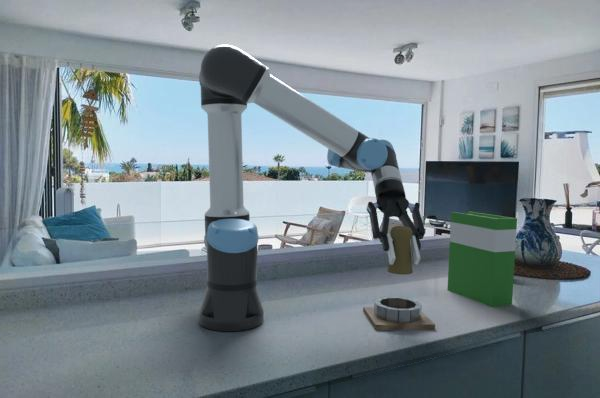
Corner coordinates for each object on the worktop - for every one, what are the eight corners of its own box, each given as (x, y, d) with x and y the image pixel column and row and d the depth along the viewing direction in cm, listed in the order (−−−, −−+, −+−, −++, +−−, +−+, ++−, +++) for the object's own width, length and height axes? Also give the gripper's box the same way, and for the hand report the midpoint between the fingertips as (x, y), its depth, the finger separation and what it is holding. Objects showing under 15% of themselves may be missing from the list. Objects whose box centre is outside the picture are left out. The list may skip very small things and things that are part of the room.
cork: (413, 275, 108) (415, 228, 107) (386, 273, 109) (388, 227, 108) (412, 269, 114) (414, 225, 113) (387, 267, 115) (388, 224, 114)
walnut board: (375, 329, 105) (375, 324, 105) (363, 311, 118) (363, 306, 118) (435, 329, 106) (435, 324, 106) (416, 311, 119) (416, 306, 119)
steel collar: (381, 323, 106) (381, 310, 106) (370, 308, 117) (370, 296, 117) (427, 322, 107) (427, 310, 107) (412, 308, 118) (412, 296, 118)
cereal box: (447, 289, 141) (451, 212, 139) (466, 288, 144) (470, 211, 142) (491, 306, 125) (496, 219, 123) (511, 304, 128) (517, 218, 126)
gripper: (418, 196, 126) (438, 270, 111) (352, 195, 125) (363, 269, 110) (425, 178, 120) (448, 252, 105) (357, 176, 119) (369, 252, 104)
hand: (405, 261), depth 108 cm, fingers closed on cork, 5 cm apart
